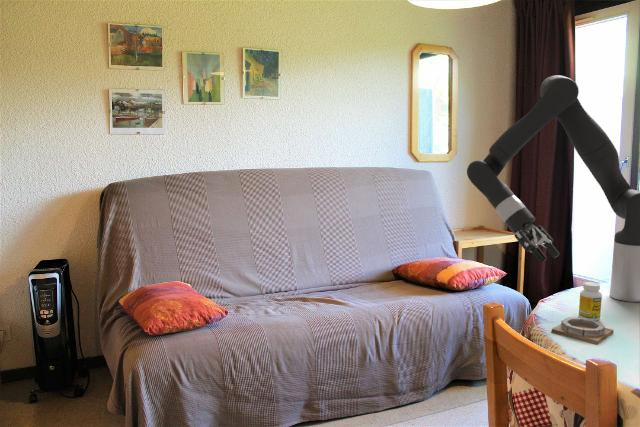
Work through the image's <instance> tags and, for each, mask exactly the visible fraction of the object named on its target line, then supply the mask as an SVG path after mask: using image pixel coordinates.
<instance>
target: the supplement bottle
mask: <svg viewBox="0 0 640 427" xmlns="http://www.w3.org/2000/svg"><path fill="white" fill-rule="evenodd" d="M582 284H583V286H582V287H583V289H582V290H580V292H579V306H578V318H586V319H590V320H594V321H597V322H598V321H599V320H600V318H601V314H602V313H601V310H602V309H601V308H602V300H603V299H602V298H603V295H602V292H600V289H601V284H599V283H596V282H593V281H592V282H590V281H589V282H587V281H586V282H583V283H582Z"/></svg>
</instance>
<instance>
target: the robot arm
mask: <svg viewBox="0 0 640 427" xmlns="http://www.w3.org/2000/svg"><path fill="white" fill-rule="evenodd" d="M579 92H580V90H579V86H578V84H577V82H576V81H574V80H573V79H571V78H570V77H567V76H564V75H560V74H559V75H556V74H555V75H551V76H548V77H546V78H545V79H544V80H543V81H542V83H541V84H540V88H539V96H540V98H539V100H538V101H537V102H536V104H535V105H534V106H533V107H532V108H531V109H530V110H529V111H528V112H527V113H526V114H525V115H523V117H521V118H520V119H519V120H518V121H516V122H515V123H513V124H512V125H511V126H510V127H508V128H507V129H506V130H505V131H504V132H503V133H502V134H501V135H500V136H499V137H498V138H497V139H496V140H495V141H494V142H493V144H492V145H491V146H490V147H489V150H488V152H489V153H488V154H487V156H486V157H485V158H484V159H483V160H481V159H480V160H475V161H472V162H470V163H469V164H468V166H467V169H466V174H467V175H466V176H467V177H468V179H469V181H470V182H471V184H472V185H474V187H475V188H476V189H477V190H478V191H479V192H481V194H483V196H485V198H486V199H487V200H488V202H489V203H490V205H491V206H492V207H493V208H494V210H495V211H496V212H497V215H499V217H500V218H501V220H502V222H504V224H505V225H506V226H507V227H508V228H509V230H510V231H511V233H513V234H514V235H513V236H514V238H515V239H516V240H517V241H518V243H519V244H520V246H521V247H522V248H523V249H524V251H525V252H526V253H527V252H530V253H532V255H534V257H535V258H536V259H537V260H538V262H539V263H543V262H545V261H546V260H547V259H548V257H547V255H546V254H545V253H544V252H543V251H542V249H541V248H540V247H539V245H540V246H542V247H543V248H544V249H545V250H546V251H547V253H548V254H549V255H550V257H552V259H556V258H557V257H559V255H561V254H560V252H559V251H558V249H557V248H556V247H555V246H554V245H553V242H554V239H553V237H552V236H551V235H550V234H549V233H548V231H547V230H545V228H544V227H543V226H542V225H540V224H539V225H538V226H536V225H535V224H534V222H535V221H536V217H535V216H534V215H533V213H532V212H531V211H530V210H529V209H528V208H527V206H526V205H525V204H524V203H523V202H522V201H521V199H519V198H518V197H517V195H516V194H514V192H513V191H512V190H511V189H510V187H509V186H508V185H507V184H506V183H504V182H503V181H501V180H500V179H499V175H500V174H501V173H502V171H503V170H504V168H505V167H506V165H507V164H508V163H509V162H510V161H511V160H512V159H513V158H514V157H515V156H516V155H517V154H518V153H519V152H520V151H521V150H522V149H523V147H525V145H527V143H528V142H530V141H531V139H533V137H535V135H537V134H538V133H539V131H541V130H542V129H543V128H544V127H545V126H547V125H548V124H549V123H550V122H551V121H553V120H554V119H555V118H557V120H558V121H559V123H560V124H561V126H562V127H563V129H564V131H565V134H566V135H567V137H568V138H569V141H570V142H571V144H572V146H573V148H574V149H575V151H576V153H577V154H578V156H579V158H580V159H581V161H582V162H583V163H584V164H585V166H586V167H587V169H588V170H589V172H590V173H591V175H592V176H593V177H594V179H595V181H596V182H597V184H598V185H599V186H600V189H601V190H602V191H603V193H604V196H605V198H606V200H607V201H608V203H609V206H610V208H611V209H612V211H613V212H614V214H615V215H617V216H618V217H619V218H621V219H624V225H623V228H622V230H619V231H617V232H615V234H614V242H613V243H614V244H613V254H612V265H611V275H610V276H611V277H610V288H609V296H610V297H611V298H612V299H615V300H619V301H624V302H630V303H632V302H633V303H636V302H637V303H639V302H640V190H637V189H634V188H632V186H631V185H630V184H629V182H628V181H627V179H626V178H625V177H624V175H623V174H622V171H621V166H620V157H619V153H618V150H617V148H616V147H615V145H614V143H613V141H612V140H611V139H610V137H609V135H607V133H606V132H605V130H604V129H603V128H602V127H601V125H599V124H598V123H597V121H596V120H595V119H594V118H593V117H591V115H590V114H589V113H588V112H587V111H586V110H585V109H584V107H583V105H582V104H581V102H580V100H579V98H578V97H579Z"/></svg>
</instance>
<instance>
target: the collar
mask: <svg viewBox="0 0 640 427" xmlns="http://www.w3.org/2000/svg"><path fill="white" fill-rule="evenodd" d="M551 333H554V334H556V335H557V334H558V335H561V336H565V337H569V338H573V339H576V340H580V341H584V342H587V343H592V344H595V345H598V344H599V343H601V342H602V341H604V340H605V339H606V338H608V337H609V336H611V335H612V334H614V329H611V328H608V327H606V326H605V325H604V324H603V323H601V322H600V321H598V320H597V321H594V320H590V319H586V318H580V317H569V316H568V317H565V318H564V319H562V320H561V322H560V324H558V325H556V326H555V327H553V328H551Z"/></svg>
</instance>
